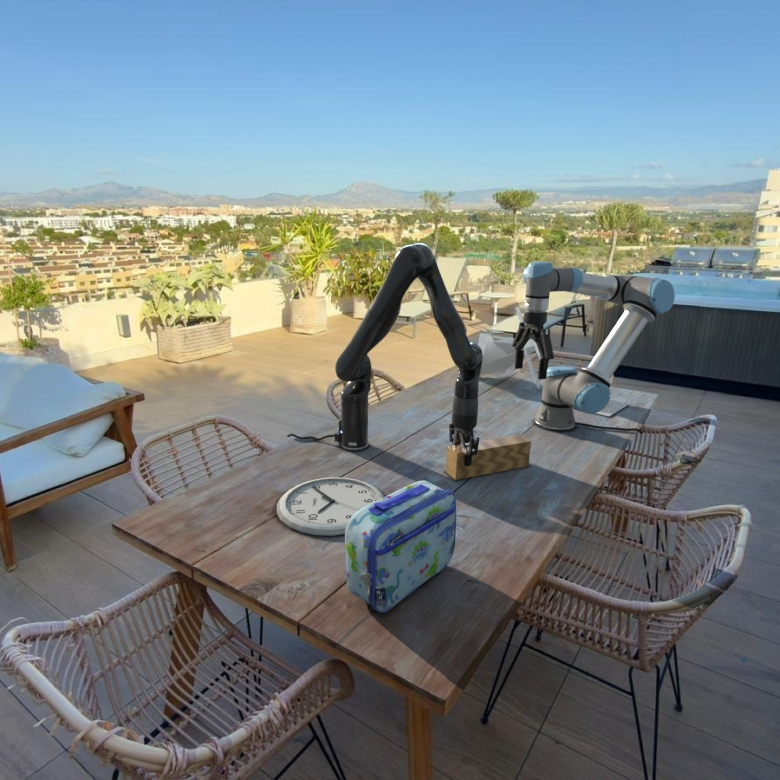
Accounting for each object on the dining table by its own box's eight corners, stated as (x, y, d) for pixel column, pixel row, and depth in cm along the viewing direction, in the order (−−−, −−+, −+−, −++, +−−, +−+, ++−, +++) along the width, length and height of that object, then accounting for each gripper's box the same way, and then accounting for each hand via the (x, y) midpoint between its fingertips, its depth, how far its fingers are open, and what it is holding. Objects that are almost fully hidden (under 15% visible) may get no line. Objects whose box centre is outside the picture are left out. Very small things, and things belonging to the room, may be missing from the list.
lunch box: (374, 626, 100) (375, 530, 93) (338, 598, 107) (337, 508, 101) (459, 568, 117) (465, 484, 111) (424, 547, 124) (427, 467, 118)
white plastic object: (486, 418, 267) (465, 395, 242) (467, 346, 289) (447, 318, 264) (556, 394, 255) (543, 367, 230) (531, 321, 277) (516, 289, 252)
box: (517, 458, 174) (519, 434, 171) (528, 466, 169) (531, 441, 166) (445, 471, 164) (447, 446, 161) (455, 480, 158) (457, 453, 156)
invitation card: (608, 416, 214) (573, 407, 224) (608, 416, 214) (573, 408, 224) (628, 404, 229) (594, 396, 238) (628, 405, 229) (594, 397, 238)
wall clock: (392, 527, 129) (268, 531, 127) (391, 533, 130) (269, 537, 127) (383, 473, 158) (282, 475, 155) (383, 478, 158) (282, 480, 156)
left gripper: (442, 404, 161) (440, 454, 166) (466, 419, 148) (463, 473, 153) (463, 401, 164) (460, 450, 169) (489, 416, 151) (485, 469, 156)
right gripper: (505, 305, 180) (500, 365, 187) (549, 317, 158) (542, 384, 164) (523, 304, 183) (518, 363, 189) (570, 316, 160) (562, 382, 167)
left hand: (461, 461), depth 161 cm, fingers closed on box, 6 cm apart
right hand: (529, 373), depth 177 cm, fingers open, 13 cm apart
